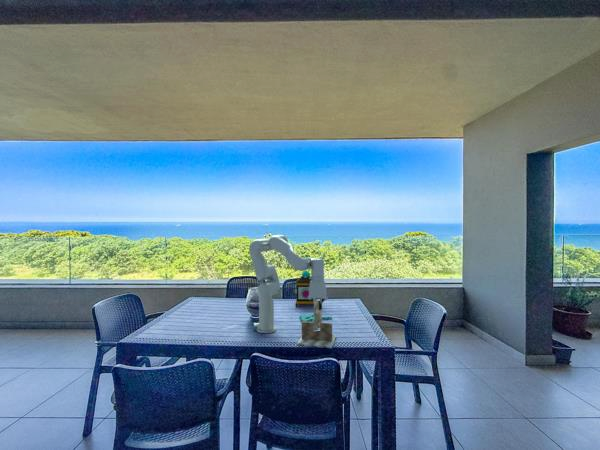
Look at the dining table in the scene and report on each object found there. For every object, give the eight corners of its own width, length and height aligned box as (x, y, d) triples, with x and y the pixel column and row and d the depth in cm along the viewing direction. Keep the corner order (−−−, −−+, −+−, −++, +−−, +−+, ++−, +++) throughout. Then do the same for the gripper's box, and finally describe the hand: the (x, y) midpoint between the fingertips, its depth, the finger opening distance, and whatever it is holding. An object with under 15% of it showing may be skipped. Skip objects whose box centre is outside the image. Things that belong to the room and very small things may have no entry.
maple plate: (313, 330, 185) (314, 301, 187) (318, 325, 200) (318, 299, 203) (316, 330, 185) (317, 301, 187) (321, 326, 200) (322, 299, 202)
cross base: (297, 345, 185) (297, 325, 185) (304, 334, 203) (304, 316, 203) (331, 348, 181) (331, 328, 181) (335, 337, 198) (335, 319, 198)
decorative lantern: (295, 302, 288) (295, 268, 288) (317, 302, 287) (317, 268, 287) (293, 308, 268) (293, 272, 268) (317, 308, 267) (317, 272, 267)
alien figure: (332, 319, 237) (310, 315, 249) (332, 316, 237) (310, 312, 249) (315, 326, 221) (293, 321, 234) (315, 323, 221) (293, 318, 234)
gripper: (303, 279, 192) (303, 310, 192) (329, 280, 189) (330, 312, 188) (306, 277, 200) (306, 307, 199) (331, 278, 196) (332, 308, 196)
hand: (318, 309), depth 194 cm, fingers closed on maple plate, 2 cm apart
